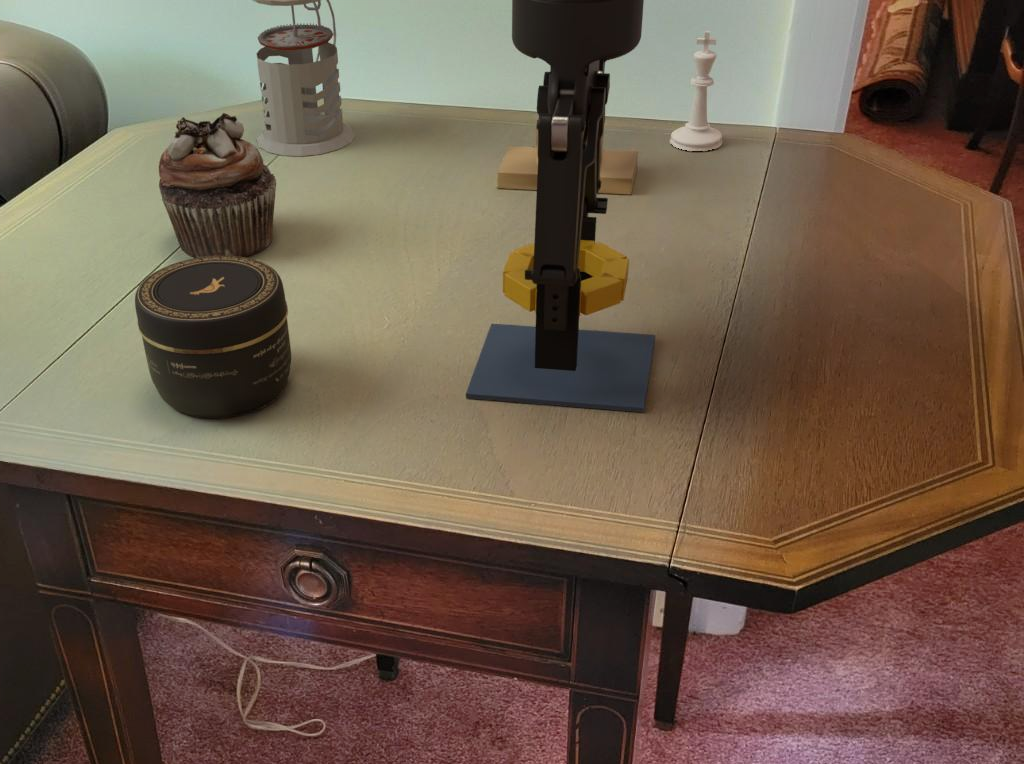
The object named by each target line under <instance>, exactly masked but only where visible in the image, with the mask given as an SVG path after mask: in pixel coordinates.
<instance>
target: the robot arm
mask: <svg viewBox="0 0 1024 764" xmlns="http://www.w3.org/2000/svg"><path fill="white" fill-rule="evenodd" d="M644 4H645V0H511V6H512V7H511V40H512V44H513V46H514V47H515V48H516V50H517V51H519V52H520V53H521V54H523V55H524V56H527V57H529V58H531V59H539V60H542V61H543V62H545V63H546V64H548V65H549V67H550V70H549V71H545V72H544V75H543V82H542V85H538V89H537V98H536V113H537V115H538V119H539V120H538V119H537V120H536V122H537V129H538V175H537V190H536V199H535V200H536V203H535V223H534V243H533V244H534V265H533V269H532V270H529V269H527V270H525V280H532V282H533V284H537V291H536V313H535V327H536V334H535V368H542V369H555V370H568V371H576V367H577V352H578V331H579V330H580V329H579V327H580V316H579V309H580V290H581V281H583V280H586V279H589V278H591V277H593V276H591V275H589V274H588V273H586V272H580V269H579V268H578V265H579V253H580V241H581V240H591V241H595V242H596V232H597V217H596V216H589V214H600V215H606V214H607V212H608V211H607V210H608V203H609V202H608V201H609V199H608V198H609V197H598V194H599V193H598V192H599V190H600V188H601V181H600V161H601V137H602V135H603V130H604V131H605V125H606V123H605V122H606V105H607V104H608V100H609V94H610V88H611V74H610V73H606V72H605V70H606V62H608V61H612V60H614V59H615V60H616V59H618V58H622V57H623V56H626V55H628V54H629V53H631V52H633V50H635V49H636V48H637V47H638V45H639V44H640V42H641V39H642V32H643V31H642V30H643V17H644ZM603 136H604V135H603Z"/></svg>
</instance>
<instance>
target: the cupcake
mask: <svg viewBox="0 0 1024 764" xmlns="http://www.w3.org/2000/svg"><path fill="white" fill-rule="evenodd" d="M175 128H176V129H177V131H175V133H174V134H175V135H174V137H173V138H172V140H171V142H169V144H168V146H167V148H165V150H164V151H163V152H162V154H161V156H160V158H159V162H158V176H159V182H158V188H159V192H160V195H161V201H162V204H163V205H164V208H165V210H166V212H167V215H168V217H169V220H170V223H171V225H172V229H173V231H174V234H175V236H176V240H177V242H178V245H179V247H180V249H181V251H182V252H184V253H185V254H187V255H188V256H189V257H191V258H199V257H207V256H238V257H245V258H248V257H251V256H253V255H255V254H258V253H260V252H262V251H263V250H264V249H266V248H268V246H269V245H270V243H272V241H273V238H274V237H273V236H274V234H273V233H274V217H275V203H276V202H275V200H276V191H277V179H276V175H274V173H271V172H272V171H270V169H269V167H268V166H267V165H265V164H264V158H263V156H262V155H261V152H260V151H259V149H258V148H257V147H256V146H255V145H254V144H253V143H251V142H249V141H247V140H246V139H242V138H243V135H244V132H245V127H244V124H243V123H242V122H240V121H239V120H238V118H237V116H236V115H233V116H231V115H229V114H228V113H226V112H223V113H222V114H221V115H220V116H219V117H217V118H216V119H215V120H214V121H213V122H212V123H211V121H210V120H204V121H199V122H196V121H192V120H191V119H186V118H185V117H184V116H182V118H181V119H180V120H177V124H176V126H175Z"/></svg>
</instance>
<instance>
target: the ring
mask: <svg viewBox="0 0 1024 764" xmlns="http://www.w3.org/2000/svg"><path fill="white" fill-rule="evenodd" d="M533 265H534V243H532V244H528V245H525V246H522V247H519V248H516V249H514V250H513V252H509V254H508V256H507V260H506V262H505V265H504V268H503V270H502V293H503V295H504V297H505V298H507V299H509V300H510V301H512V302H514V303H515V304H517V305H518V306H520V307H521V308H523V309H525V310H526V311H527V312H530V313H531V312H533V311H534V312H535V314H536V291H537V284H533V282H532V280H525V270H527V269H529V270H532V269H533ZM629 265H630V259H629V258H628V256H627V255H625V254H623V253H621V252H619V251H618V250H616V249H614V248H612V247H610V246H609V245H607V244H605V243H603V242H601V241H598V242H596V240H595V241H591V240H581V241H580V253H579V265H578V268H579V269H580V272H586V273H588V274H589V275H591V276H593V277H591V278H589V279H586V280H583V281H581V290H580V309H579V317H580V316H581V314H582V315H583V316H589V315H591V314H594V313H597V312H599V311H602V310H605V309H608V308H611V307H613V306H616V305H620V304H621V301H622V302H623V301H624V300H625V295H626V290H627V284H628V281H629V280H628V277H629V267H630V266H629Z"/></svg>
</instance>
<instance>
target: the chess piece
mask: <svg viewBox="0 0 1024 764" xmlns="http://www.w3.org/2000/svg"><path fill="white" fill-rule="evenodd" d="M710 35H711V30H705V31H704V37H697V39H696V45H703V48H702V49H701V50H698V51H696V52H694V54H693V61H694V64H695V70H696V73H697V75H696V76H694V77H692V78H691V81H690V84H691V85H692V86H694V87H696V89H695V93H694V98H693V104H692V108H691V112H690V116H689V119H688V122H686V123H685V125H684V126H680V127H678V128H676V129H674V130H673V131H672V132H671V135H670V138H669V144H670V145H671V144H672V145H673V146H672V145H671V146H672V147H674V148H675V147H676V149H678V148H679V149H678V150H681V149H682V150H681V151H685V150H687V151H686V152H692V151H703V152H709V151H708V150H710V151H713V150H712V149H714V150H716V149H719V148H720V147H722V145H723V134H722V133H721V131H720V130H719V129H717V128H714V127H711V124H710V123H709V122H708V87H710V86H713V85H714V84H715V79H714V78H713V77H711V76H710V73H711V71H712V68H713V65H714V63H715V61H716V59H717V53H716V52H715V51H712V50H710V49H709V46H712V45H713V46H716V45H717V38H716V37H711V36H710Z"/></svg>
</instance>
